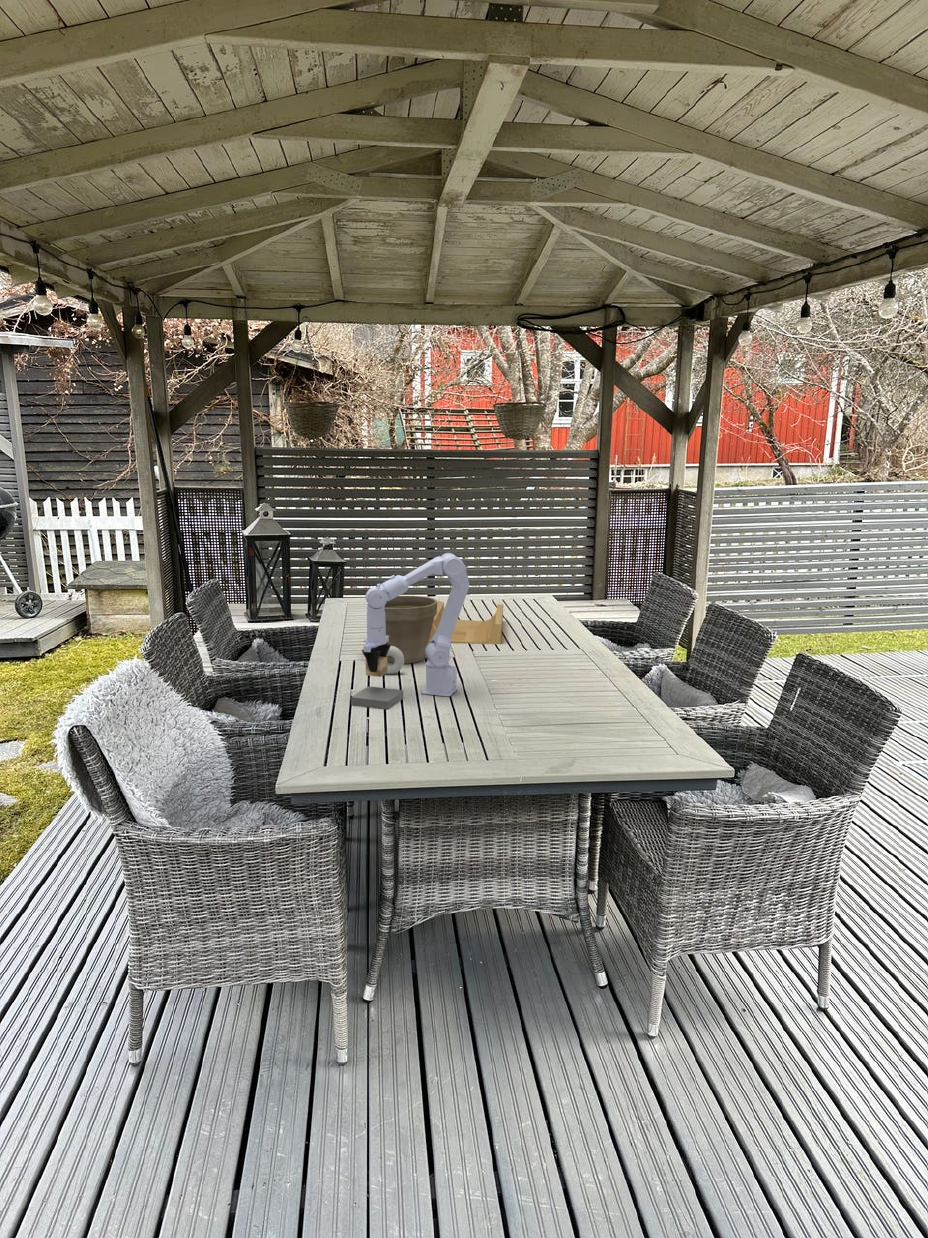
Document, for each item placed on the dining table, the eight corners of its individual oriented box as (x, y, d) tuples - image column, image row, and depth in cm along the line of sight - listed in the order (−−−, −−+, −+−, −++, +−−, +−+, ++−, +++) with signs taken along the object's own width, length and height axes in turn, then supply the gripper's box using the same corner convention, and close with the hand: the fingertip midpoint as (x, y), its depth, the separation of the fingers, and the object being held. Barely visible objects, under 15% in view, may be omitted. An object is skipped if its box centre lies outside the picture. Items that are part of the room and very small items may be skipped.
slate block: (403, 699, 246) (403, 690, 245) (387, 711, 235) (387, 701, 234) (368, 695, 249) (368, 686, 249) (351, 706, 238) (351, 697, 238)
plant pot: (355, 662, 286) (354, 603, 281) (392, 647, 307) (392, 592, 303) (415, 671, 275) (414, 610, 270) (449, 655, 296) (449, 598, 291)
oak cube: (387, 672, 248) (387, 657, 247) (380, 676, 244) (380, 661, 242) (372, 671, 250) (372, 655, 249) (365, 675, 245) (365, 659, 244)
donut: (374, 675, 270) (374, 646, 268) (376, 672, 273) (375, 644, 271) (404, 675, 270) (403, 647, 267) (405, 672, 273) (404, 644, 271)
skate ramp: (500, 647, 314) (502, 608, 310) (411, 643, 316) (412, 603, 312) (502, 625, 353) (504, 590, 349) (423, 621, 355) (424, 586, 351)
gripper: (374, 621, 251) (374, 662, 254) (354, 630, 238) (354, 674, 241) (394, 622, 249) (395, 664, 252) (375, 632, 236) (376, 676, 239)
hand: (376, 669), depth 246 cm, fingers closed on oak cube, 5 cm apart
